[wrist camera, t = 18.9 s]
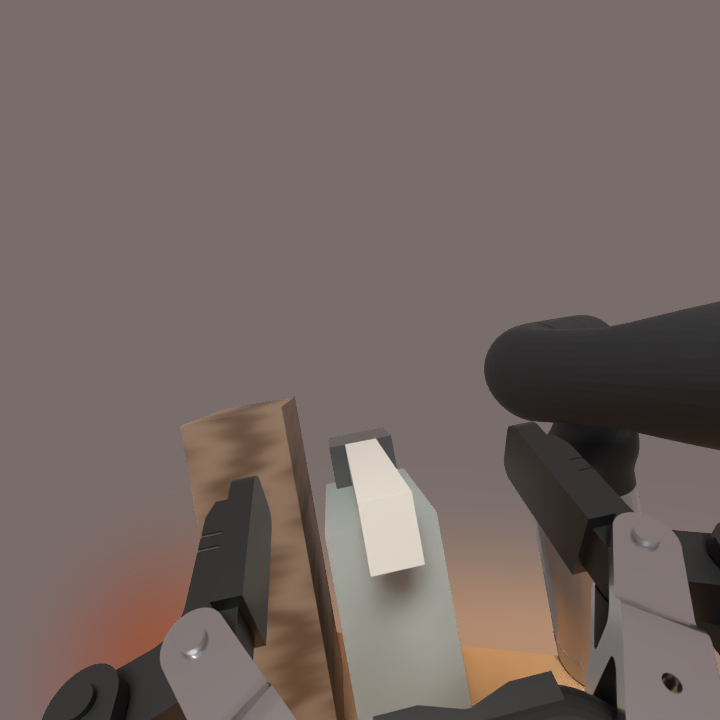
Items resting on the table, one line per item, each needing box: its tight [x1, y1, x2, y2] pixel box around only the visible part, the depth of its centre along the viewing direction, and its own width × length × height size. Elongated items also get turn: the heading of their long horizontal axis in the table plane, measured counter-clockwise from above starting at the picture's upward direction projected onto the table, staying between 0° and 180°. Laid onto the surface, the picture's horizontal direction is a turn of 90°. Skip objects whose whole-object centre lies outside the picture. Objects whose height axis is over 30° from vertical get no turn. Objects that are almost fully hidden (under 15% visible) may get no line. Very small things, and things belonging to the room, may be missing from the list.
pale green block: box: [325, 468, 472, 720], centre depth 33 cm, size 8×12×21 cm, turn 5°
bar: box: [329, 428, 425, 577], centre depth 31 cm, size 6×21×4 cm, turn 5°
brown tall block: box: [180, 397, 344, 720], centre depth 36 cm, size 8×12×30 cm, turn 5°
